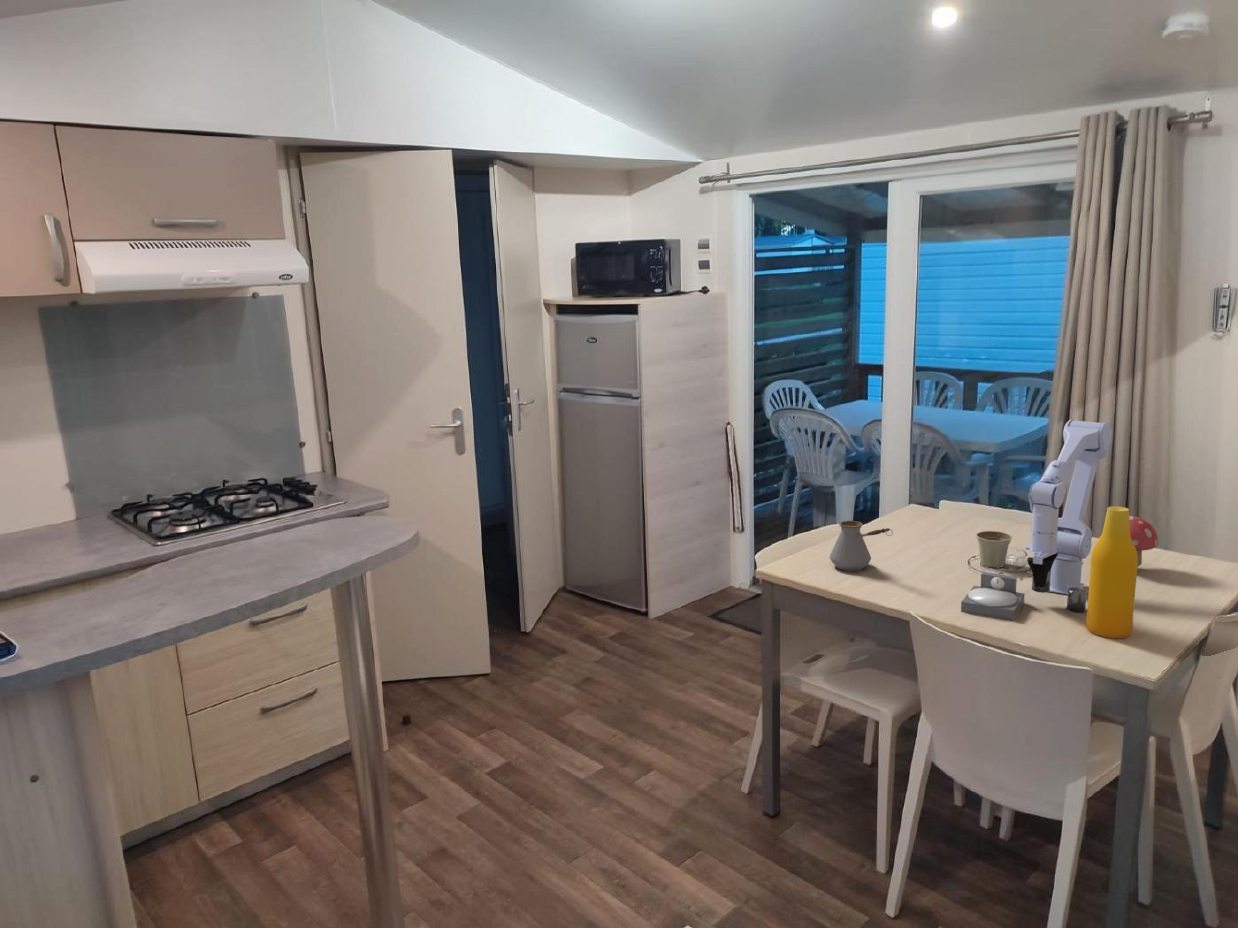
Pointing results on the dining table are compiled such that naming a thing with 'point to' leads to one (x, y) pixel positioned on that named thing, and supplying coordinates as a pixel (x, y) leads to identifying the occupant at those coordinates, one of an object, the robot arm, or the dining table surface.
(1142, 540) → the decorative mushroom
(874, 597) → the dining table surface
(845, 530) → the coffee pot
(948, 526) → the dining table surface
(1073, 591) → the cylinder
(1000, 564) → the flower pot
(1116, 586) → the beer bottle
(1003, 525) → the dining table surface
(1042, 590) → the ball
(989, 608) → the dial scale
